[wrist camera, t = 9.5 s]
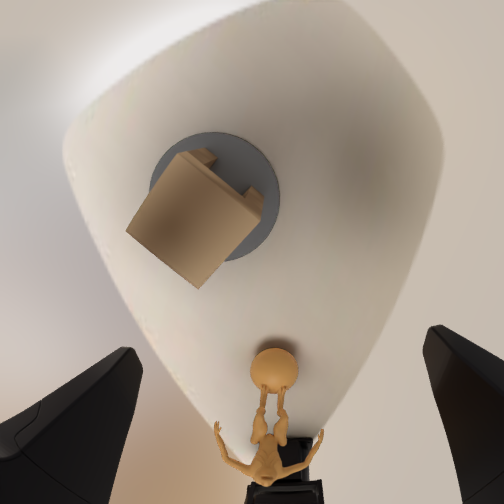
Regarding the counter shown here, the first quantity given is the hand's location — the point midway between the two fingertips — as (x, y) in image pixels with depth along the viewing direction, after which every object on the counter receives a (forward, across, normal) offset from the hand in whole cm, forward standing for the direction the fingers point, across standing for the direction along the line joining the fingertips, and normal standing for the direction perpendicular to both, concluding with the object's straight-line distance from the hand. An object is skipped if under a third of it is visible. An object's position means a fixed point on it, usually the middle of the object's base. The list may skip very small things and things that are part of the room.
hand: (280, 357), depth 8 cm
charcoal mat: (+13, +4, -2) cm, 14 cm away
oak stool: (+12, +4, -2) cm, 13 cm away
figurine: (+13, +2, +13) cm, 18 cm away
